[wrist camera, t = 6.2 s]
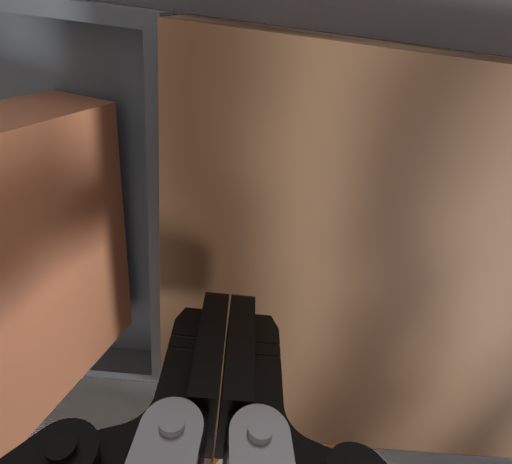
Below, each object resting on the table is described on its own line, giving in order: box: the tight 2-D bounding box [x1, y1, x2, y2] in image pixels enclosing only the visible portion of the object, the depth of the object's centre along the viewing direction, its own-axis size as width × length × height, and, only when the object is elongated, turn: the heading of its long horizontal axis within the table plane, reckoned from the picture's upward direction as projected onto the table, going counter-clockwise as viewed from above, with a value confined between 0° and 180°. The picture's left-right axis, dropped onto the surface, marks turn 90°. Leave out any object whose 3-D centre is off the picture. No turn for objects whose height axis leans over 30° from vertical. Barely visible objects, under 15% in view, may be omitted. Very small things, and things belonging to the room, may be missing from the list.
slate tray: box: [0, 0, 173, 383], centre depth 16 cm, size 12×16×2 cm
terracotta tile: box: [0, 90, 132, 458], centre depth 13 cm, size 7×10×2 cm
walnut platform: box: [158, 14, 512, 459], centre depth 15 cm, size 16×16×4 cm
